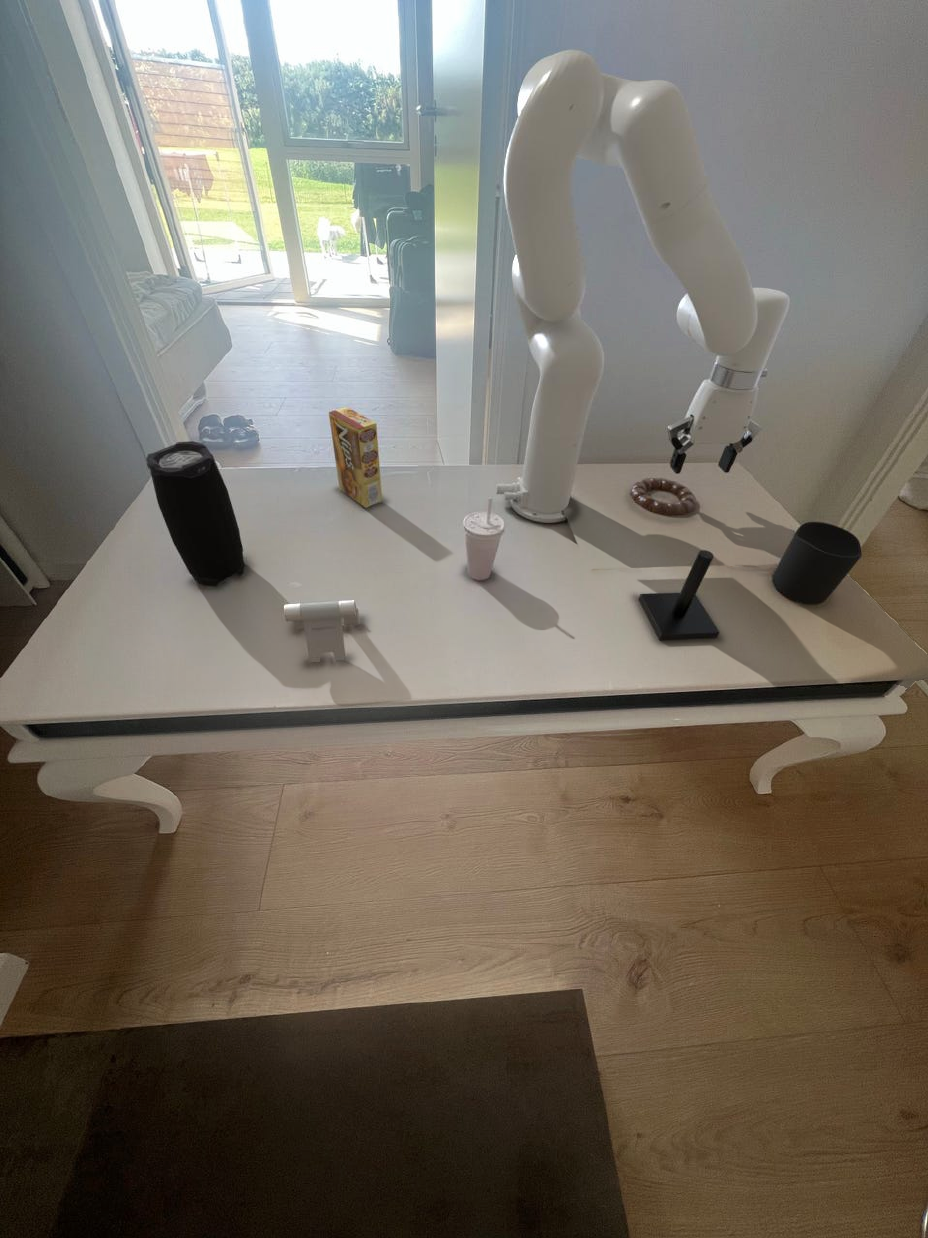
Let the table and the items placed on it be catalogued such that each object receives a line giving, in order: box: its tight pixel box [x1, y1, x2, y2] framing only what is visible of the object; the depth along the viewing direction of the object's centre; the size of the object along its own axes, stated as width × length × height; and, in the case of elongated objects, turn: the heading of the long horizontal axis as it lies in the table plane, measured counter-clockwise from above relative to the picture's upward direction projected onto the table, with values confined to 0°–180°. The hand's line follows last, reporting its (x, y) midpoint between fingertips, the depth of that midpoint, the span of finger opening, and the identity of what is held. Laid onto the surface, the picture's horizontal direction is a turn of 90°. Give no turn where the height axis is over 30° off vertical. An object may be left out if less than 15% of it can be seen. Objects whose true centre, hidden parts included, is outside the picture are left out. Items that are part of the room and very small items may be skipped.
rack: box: [638, 549, 720, 641], centre depth 76 cm, size 9×9×12 cm
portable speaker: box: [146, 440, 246, 587], centre depth 75 cm, size 9×9×20 cm
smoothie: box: [462, 496, 506, 581], centre depth 80 cm, size 6×6×14 cm
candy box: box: [328, 406, 383, 509], centre depth 94 cm, size 9×4×15 cm, turn 44°
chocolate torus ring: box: [629, 477, 697, 517], centre depth 103 cm, size 12×12×3 cm
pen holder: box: [771, 521, 863, 605], centre depth 83 cm, size 9×9×10 cm
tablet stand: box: [283, 599, 360, 663], centre depth 70 cm, size 9×8×8 cm
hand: (698, 469), depth 99 cm, fingers open, 9 cm apart
